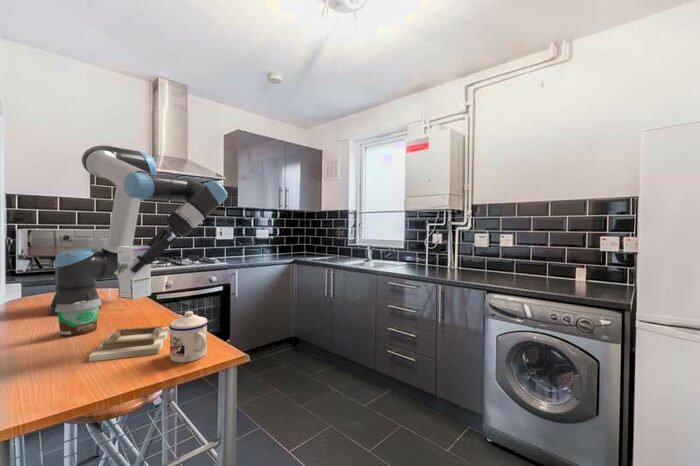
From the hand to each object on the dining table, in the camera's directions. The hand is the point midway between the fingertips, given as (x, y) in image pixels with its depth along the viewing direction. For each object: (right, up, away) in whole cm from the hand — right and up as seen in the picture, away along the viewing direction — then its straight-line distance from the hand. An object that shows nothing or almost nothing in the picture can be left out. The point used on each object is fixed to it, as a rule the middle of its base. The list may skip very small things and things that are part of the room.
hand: (119, 278), depth 87 cm
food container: (-20, -19, +12) cm, 30 cm away
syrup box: (+3, -6, +2) cm, 7 cm away
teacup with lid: (+22, -20, -4) cm, 30 cm away
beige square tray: (+2, -19, +3) cm, 20 cm away
